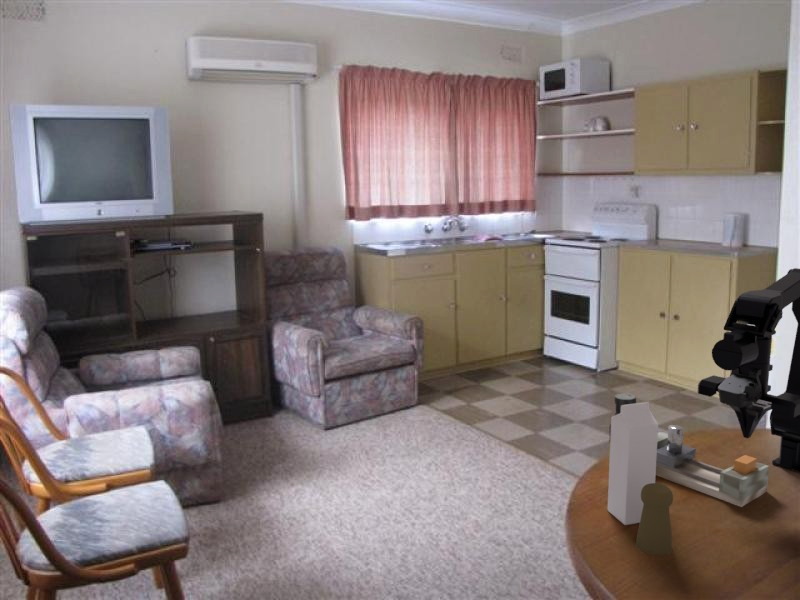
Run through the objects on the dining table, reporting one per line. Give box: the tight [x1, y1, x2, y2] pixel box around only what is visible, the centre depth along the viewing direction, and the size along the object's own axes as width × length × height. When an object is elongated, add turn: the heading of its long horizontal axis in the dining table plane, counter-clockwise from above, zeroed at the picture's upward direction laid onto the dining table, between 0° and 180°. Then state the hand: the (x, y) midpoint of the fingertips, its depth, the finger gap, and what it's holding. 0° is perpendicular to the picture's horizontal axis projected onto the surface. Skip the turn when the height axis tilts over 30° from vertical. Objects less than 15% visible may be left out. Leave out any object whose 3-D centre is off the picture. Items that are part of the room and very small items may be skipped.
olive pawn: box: [635, 482, 674, 556], centre depth 125 cm, size 6×6×11 cm
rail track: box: [655, 431, 770, 508], centre depth 151 cm, size 10×24×6 cm, turn 38°
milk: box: [607, 401, 659, 526], centre depth 134 cm, size 6×6×22 cm
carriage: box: [656, 424, 697, 468], centre depth 154 cm, size 8×5×7 cm, turn 128°
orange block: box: [733, 454, 758, 475], centre depth 142 cm, size 4×2×3 cm, turn 128°
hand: (747, 437), depth 141 cm, fingers closed
